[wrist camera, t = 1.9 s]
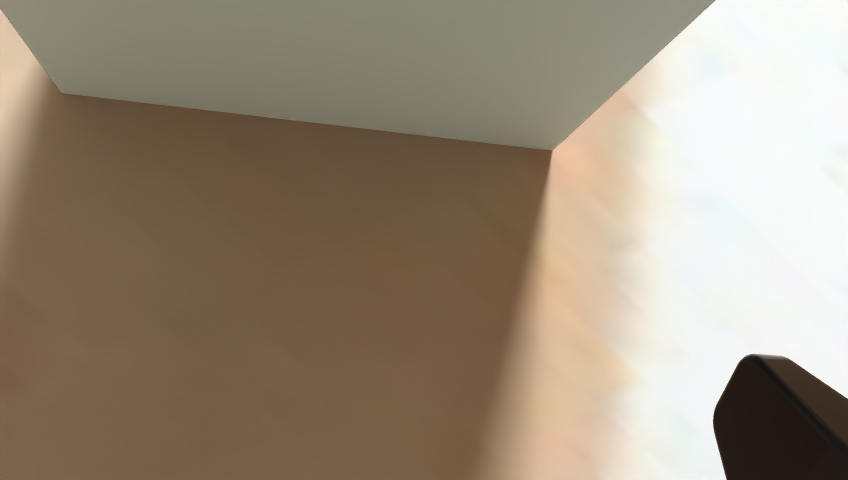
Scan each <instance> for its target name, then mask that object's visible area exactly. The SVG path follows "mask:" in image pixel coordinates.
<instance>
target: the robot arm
mask: <svg viewBox="0 0 848 480" xmlns="http://www.w3.org/2000/svg"><path fill="white" fill-rule="evenodd" d="M713 427H714V433H715V437H716V441H717V445H718V448H719V452H720V456H721V460H722V464H723V468H724V471H725V475H726V479H727V480H848V399H847V398H845V397H844V396H843V395H841V394H840V393H838V392H837V391H835V390H834V389H832V388H831V387H829V386H828V385H826V384H825V383H824V382H822V381H821V380H819V379H818V378H816V377H815V376H813V375H812V374H810V373H809V372H808V371H806V370H805V369H803V368H802V367H800V366H799V365H797V364H796V363H794V362H793V361H791V360H790V359H788V358H785V357H782V356H775V355H762V354H750V355H747V356H745V357H744V358H743V359H741V360H740V362H739V363H738V365H737V367H736V369H735V371H734V373H733V374H732V376H731V378H730V380H729V382H728V384H727V386H726V388H725V390H724V392H723V393H722V395H721V397H720V399H719V401H718V403H717V405H716V407H715V411H714V416H713Z"/></svg>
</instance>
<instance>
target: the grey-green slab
mask: <svg viewBox="0 0 848 480" xmlns="http://www.w3.org/2000/svg"><path fill="white" fill-rule="evenodd" d="M714 1H715V0H0V9H1V10H2V12H3V13H4V14H5V16H6V17H7V18H8V20H9V21H10V23H11V24H12V25H13V27H14V28H15V30H16V31H17V32H18V34H19V35H20V36H21V38H22V39H23V41H24V42H25V43H26V45H27V46H28V48H29V49H30V50H31V52H32V53H33V54H34V56H35V57H36V59H37V60H38V61H39V63H40V64H41V65H42V67H43V68H44V70H45V71H46V72H47V74H48V75H49V77H50V78H51V79H52V81H53V82H54V83H55V85H56V86H57V88H58V89H59V90H60V92H61V93H64V94H73V95H81V96H90V97H98V98H107V99H116V100H124V101H133V102H141V103H150V104H158V105H167V106H175V107H184V108H192V109H201V110H209V111H218V112H226V113H235V114H243V115H252V116H260V117H269V118H277V119H286V120H295V121H303V122H312V123H320V124H329V125H337V126H346V127H354V128H363V129H371V130H380V131H388V132H397V133H405V134H414V135H422V136H431V137H439V138H448V139H457V140H465V141H474V142H482V143H491V144H499V145H508V146H516V147H525V148H533V149H542V150H550V151H553V150H554V149H555V148H556V147H557V146H558V145H559V144H560V143H561V142H562V141H563V140H565V139H566V138H567V137H568V136H569V135H570V134H571V133H572V132H573V131H574V130H575V129H576V128H578V127H579V126H580V125H581V124H582V123H583V122H584V121H585V120H586V119H587V118H588V117H590V116H591V115H592V114H593V113H594V112H595V111H596V110H597V109H598V108H599V107H600V106H601V105H603V104H604V103H605V102H606V101H607V100H608V99H609V98H610V97H611V96H612V95H613V94H614V93H616V92H617V91H618V90H619V89H620V88H621V87H622V86H623V85H624V84H625V83H626V82H627V81H629V80H630V79H631V78H632V77H633V76H634V75H635V74H636V73H637V72H638V71H639V70H640V69H642V68H643V67H644V66H645V65H646V64H647V63H648V62H649V61H650V60H651V59H652V58H653V57H655V56H656V55H657V54H658V53H659V52H660V51H661V50H662V49H663V48H664V47H665V46H666V45H668V44H669V43H670V42H671V41H672V40H673V39H674V38H675V37H676V36H677V35H678V34H679V33H681V32H682V31H683V30H684V29H685V28H686V27H687V26H688V25H689V24H690V23H691V22H692V21H694V20H695V19H696V18H697V17H698V16H699V15H700V14H701V13H702V12H703V11H704V10H705V9H707V8H708V7H709V6H710V5H711V4H712V3H713V2H714Z"/></svg>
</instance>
